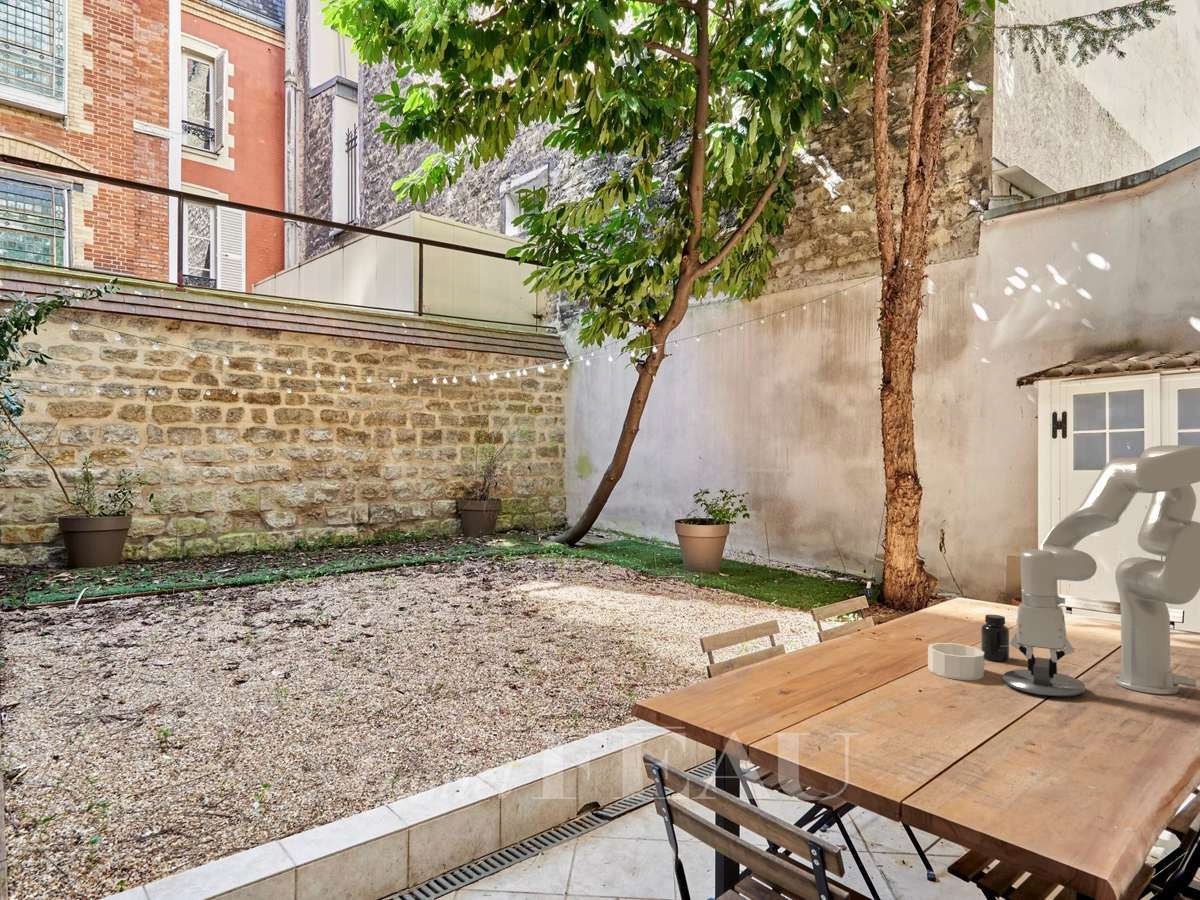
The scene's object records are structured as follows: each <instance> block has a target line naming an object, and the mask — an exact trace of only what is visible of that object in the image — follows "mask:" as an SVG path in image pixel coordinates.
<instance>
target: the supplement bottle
mask: <svg viewBox="0 0 1200 900" xmlns="http://www.w3.org/2000/svg"><path fill="white" fill-rule="evenodd" d="M984 618H985V619H984V624H983V625H982V626H981V628H980V629H981V632H980V634H981V638H980V639H981V641H980V643H981V645H980V646H981V649H980V650H982V651H983V652H984V660H985V661H986V660H987V661H990V662H995V663H1004V662H1005V663H1006V662H1008V661H1009V660H1010V630H1009V628H1008V627H1007V626H1006V625H1005V624H1006V618H1005V616H1002V615H999V614H986V615H985V617H984Z"/></svg>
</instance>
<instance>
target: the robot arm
mask: <svg viewBox="0 0 1200 900" xmlns="http://www.w3.org/2000/svg"><path fill="white" fill-rule="evenodd" d="M1196 483H1200V445H1193V444H1189V445H1185V444H1183V445H1179V444H1178V445H1175V444H1174V445H1171V444H1169V445H1167V444H1165V445H1164V444H1163V445H1155V446H1151V447H1148V448H1146V449H1144V450H1143V451H1142V453H1141V455H1140V456H1139V457H1118V458H1113V459H1112V460H1109V461H1108V462H1107V463H1106V464H1105V466H1104V467H1103V468H1102V470H1101V471H1100V473H1099V475H1098V477H1097V478H1096V479H1095V481H1094V483H1093V484H1092V486H1091V488H1090V490H1088V493H1087V494H1086V496H1085V498H1084V499H1083V501H1082V503H1081V504H1080V505H1079V507H1077V508H1076V509H1075V510H1073V511H1072V512H1070V513H1069V514H1068V515H1065V517H1064V518H1063V519H1061V520H1060V521H1059V522H1057V524H1055V525H1054V526H1053V527H1051V529H1050V530H1049V532H1048V533H1047V535H1046V536H1045V537H1044V539H1043V541H1042V542H1041V544H1040V546H1039V548H1038V549H1027V550H1024V551H1022V552H1021V553H1020V559H1019V561H1020V583H1021V584H1020V585H1021V603H1019V604H1018V608H1017V615H1016V616H1017V619H1016V633H1015V635H1014V636H1013V638H1012V639H1011V641H1009V646H1012V648H1013V647H1014V648H1015V649H1017V650H1019V651H1020V653H1022V654H1023V655H1024V656H1025V657H1026V659H1027V670H1028V671H1031V675H1033V665H1034V662H1035V658H1036V656H1035V655H1034V653H1033V652H1034V648H1038V649H1039V648H1040V649H1049V652H1050V653H1049V654H1050V657H1049V659H1050V661H1049V666H1050V677H1051V678H1053V677H1054V674H1057V673H1058V665H1057V664H1058V663H1057V662H1058V661H1059V660H1060V659H1062V658H1063V657H1065V656H1067V655H1069V654H1070V655H1071V654H1073V653H1075V648H1074V646H1073V645H1072V644H1071V642H1070V640H1069V639H1068V638H1067V631H1066V629H1067V628H1066V621H1065V620H1066V619H1065V614H1064V610H1063V608H1062V607H1061V606H1060V605H1061V604H1064V605H1065V604H1066V597H1061V596H1060V595H1058V593H1059V591H1058V581H1070V582H1084V581H1087V580H1090V579H1091V578H1093V577H1094V575H1096V572H1097V569H1098V566H1097V562H1096V560H1095V559H1094V557H1093V556H1092V555H1090V554H1089V553H1087V552H1084V551H1082V550H1078V549H1075V547H1076V546H1077V545H1078V543H1080V541H1082V540H1083V539H1085V538H1086V537H1088V536H1090V535H1092V534H1094V533H1097V532H1101V531H1103V530H1106V529H1107V530H1108V529H1109V528H1112V527H1114V526H1116V525H1118V524H1119V522H1120V521H1121V520H1122V517H1123V516H1124V514H1125V512H1126V511H1127V509H1128V507H1129V506H1130V504H1131V502H1132V501H1133V499H1134V498H1135V496H1136V495H1137V493H1139V494H1140V493H1141V494H1152V495H1151V496H1152V497H1151V500H1150V504H1149V507H1148V509H1147V511H1146V514H1145V516H1144V519H1143V522H1142V524H1141V525H1140V526H1141V527H1140V528H1139V531H1138V534H1137V543H1138V546H1139V547H1140V548H1141V549H1142V550H1143V551H1144V552H1147V553H1148V554H1152V555H1155V556H1159V557H1164V560H1163V561H1162V560H1160V559H1159V560H1158V559H1153V558H1149V557H1143V556H1142V557H1141V556H1135V557H1129V558H1125V559H1123V560H1122V561H1121V562H1119V564H1118V566H1117V567H1116V569H1115V575H1114V576H1115V577H1114V578H1115V585H1116V588H1117V591H1118V597H1119V602H1120V603H1119V604H1120V644H1121V645H1120V650H1121V651H1120V652H1121V653H1120V654H1121V656H1120V657H1121V658H1120V659H1121V660H1120V661H1121V662H1120V663H1121V673H1118V674H1115V675H1114V677H1113V681H1114V683H1115V684H1116V685H1118V686H1121V687H1123V688H1126V689H1128V690H1132V691H1137V692H1141V693H1146V694H1154V695H1155V694H1156V695H1175V694H1178V693H1179V692H1180V686H1179V685H1181V686H1187V687H1191V688H1196V687H1197V679H1196V678H1192V677H1189V676H1187V675H1183V674H1182V675H1178V674H1176V673H1173V670H1172V668H1171V619H1170V618H1171V617H1170V612H1169V609H1168V606H1167V604H1170V605H1175V606H1176V605H1177V606H1179V605H1185V604H1188V603H1189V602H1191V601H1192V600H1193V599H1194V598H1195V597H1196V595H1197V594H1198V592H1199V591H1200V522H1199V521H1198V522H1197V521H1195V520H1192V519H1193V516H1194V514H1195V510H1196V507H1197V496H1196V493H1195V490H1194V488H1193V486H1192V484H1196Z"/></svg>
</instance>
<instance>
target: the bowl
mask: <svg viewBox="0 0 1200 900" xmlns="http://www.w3.org/2000/svg"><path fill="white" fill-rule="evenodd" d="M927 668H928V671H929V672H930V673H932V674H934V675H936V676H939V677H942V678H946V679H951V680H957V681H977V680H978V681H979V680H982V679H983V678H984V677H985V659H984V652H983V651H982V650H981V649H980V648H979V647H974V646H971V645H967V644H961V643H954V642H937V643H936V642H935V643H931V644H928V646H927Z"/></svg>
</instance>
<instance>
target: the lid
mask: <svg viewBox="0 0 1200 900" xmlns="http://www.w3.org/2000/svg"><path fill="white" fill-rule="evenodd" d="M1049 661H1050V658H1047V657H1046V658H1045V657H1038V656H1035V662H1034V665H1033V675H1031V671H1028V669H1027V668H1026V669H1014V670H1009V671H1006V672H1004V673H1003V674H1002V681H1003V682H1004V683H1005V684H1006V685H1008V686H1010V687H1011V688H1014V689H1016V690H1019V691H1022V692H1026V693H1030V694H1035V695H1039V696H1040V695H1042V696H1050V697H1072V696H1073V697H1074V696H1078V695H1081V694H1084V693H1085V692H1086V685H1085V683H1084V682H1083V681H1081V680H1080V679H1078V678H1075V677H1073V676H1070V675H1066V674H1063V673H1061V672H1057V674H1054V677H1053V678H1051V677H1050V666H1049Z"/></svg>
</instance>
